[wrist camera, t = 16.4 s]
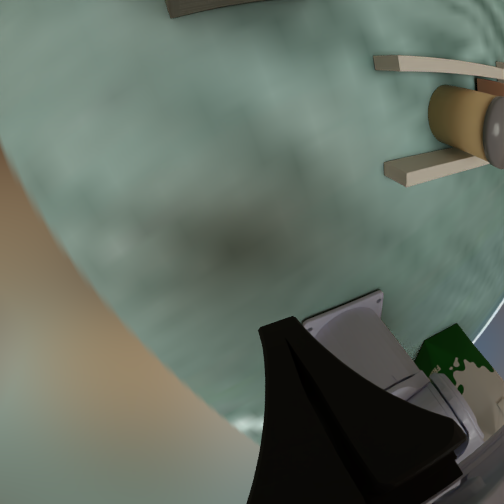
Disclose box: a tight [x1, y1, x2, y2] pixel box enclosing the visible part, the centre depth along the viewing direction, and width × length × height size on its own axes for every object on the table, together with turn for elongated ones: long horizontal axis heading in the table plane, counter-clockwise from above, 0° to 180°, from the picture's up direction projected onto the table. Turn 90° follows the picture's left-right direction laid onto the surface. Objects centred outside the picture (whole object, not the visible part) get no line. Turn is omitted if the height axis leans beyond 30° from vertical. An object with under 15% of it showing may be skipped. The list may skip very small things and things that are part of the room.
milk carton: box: [414, 324, 504, 442], centre depth 28 cm, size 9×9×20 cm
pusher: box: [477, 78, 504, 97], centre depth 16 cm, size 6×2×5 cm, turn 12°
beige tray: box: [373, 55, 504, 187], centre depth 15 cm, size 10×18×6 cm, turn 102°
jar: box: [428, 85, 504, 169], centre depth 16 cm, size 5×5×6 cm
